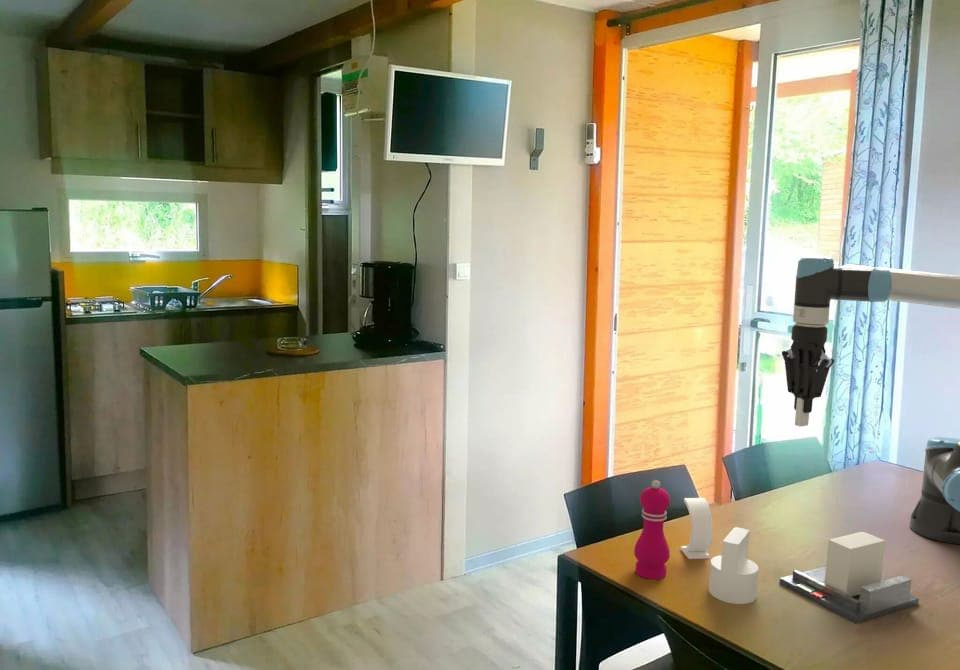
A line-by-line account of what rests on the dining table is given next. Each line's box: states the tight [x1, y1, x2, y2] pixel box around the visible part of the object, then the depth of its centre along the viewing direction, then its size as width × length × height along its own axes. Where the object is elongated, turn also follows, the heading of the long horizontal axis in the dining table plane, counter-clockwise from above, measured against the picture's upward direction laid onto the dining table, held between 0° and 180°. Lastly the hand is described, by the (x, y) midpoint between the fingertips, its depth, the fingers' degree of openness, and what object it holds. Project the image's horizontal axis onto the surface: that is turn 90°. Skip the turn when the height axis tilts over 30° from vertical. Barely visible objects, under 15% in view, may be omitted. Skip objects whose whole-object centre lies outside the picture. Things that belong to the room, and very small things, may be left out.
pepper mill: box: [633, 480, 671, 580], centre depth 166 cm, size 7×7×20 cm
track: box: [779, 565, 920, 625], centre depth 160 cm, size 18×18×6 cm
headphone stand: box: [680, 497, 714, 560], centre depth 177 cm, size 5×6×12 cm
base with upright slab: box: [708, 526, 759, 605], centre depth 159 cm, size 9×9×12 cm
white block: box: [825, 531, 886, 597], centre depth 159 cm, size 10×6×10 cm, turn 118°
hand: (801, 425), depth 187 cm, fingers closed
